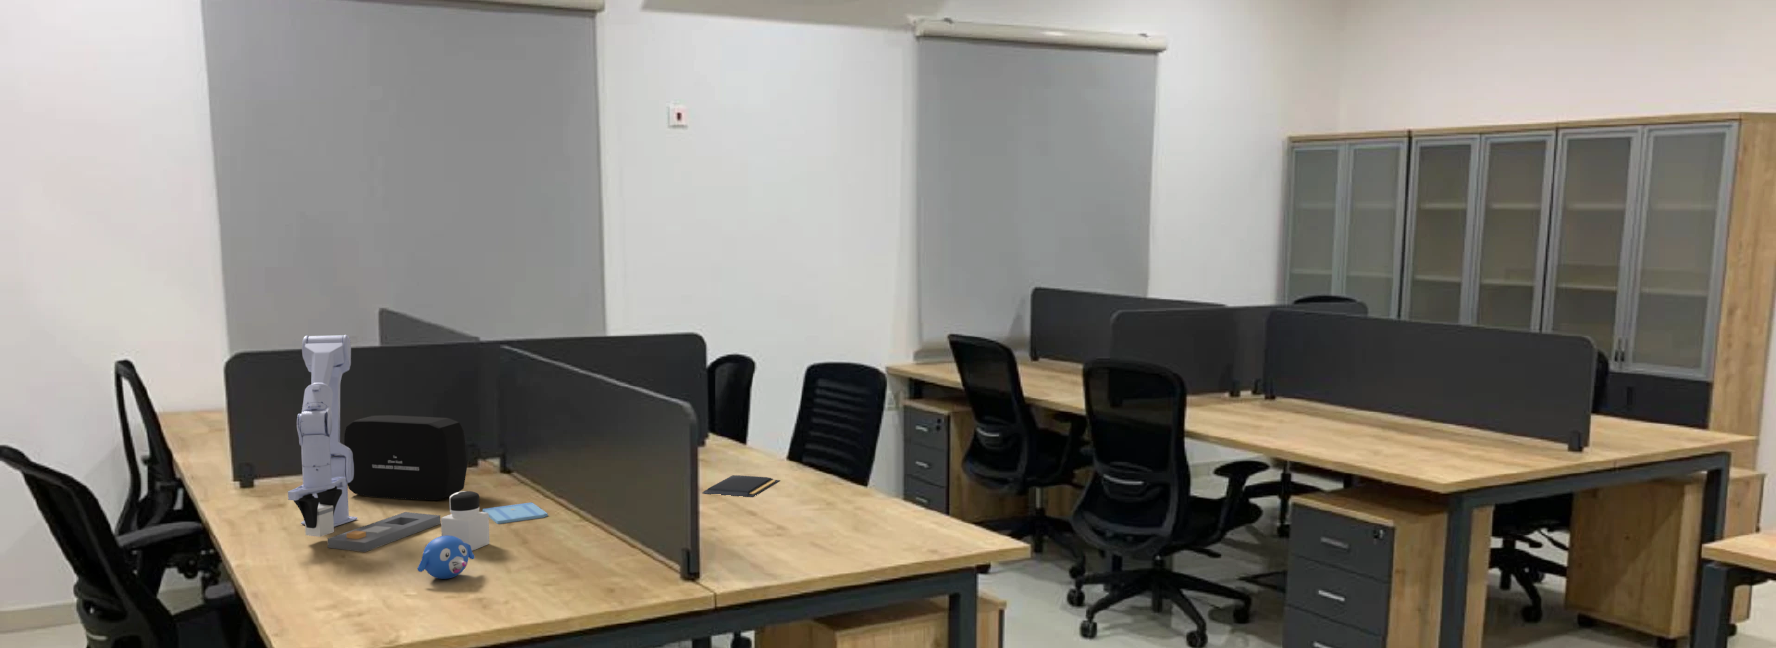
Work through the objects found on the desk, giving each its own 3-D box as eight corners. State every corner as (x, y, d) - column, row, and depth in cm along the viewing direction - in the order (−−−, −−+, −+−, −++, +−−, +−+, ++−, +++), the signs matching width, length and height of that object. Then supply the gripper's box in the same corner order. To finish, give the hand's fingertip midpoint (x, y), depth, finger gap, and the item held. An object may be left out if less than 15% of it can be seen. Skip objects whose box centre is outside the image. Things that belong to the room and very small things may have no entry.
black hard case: (344, 496, 300) (341, 419, 298) (376, 485, 311) (373, 411, 310) (448, 503, 292) (445, 424, 291) (476, 492, 304) (474, 416, 302)
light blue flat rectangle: (548, 519, 279) (548, 513, 279) (497, 526, 273) (497, 520, 273) (532, 507, 291) (531, 502, 290) (482, 513, 284) (482, 508, 284)
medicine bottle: (490, 544, 256) (488, 490, 255) (468, 553, 249) (466, 498, 248) (463, 541, 258) (461, 488, 257) (441, 549, 252) (439, 495, 251)
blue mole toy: (437, 593, 223) (436, 550, 222) (407, 580, 231) (405, 539, 230) (494, 578, 232) (493, 537, 231) (463, 566, 240) (461, 526, 239)
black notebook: (731, 472, 322) (782, 476, 317) (731, 479, 322) (782, 483, 317) (698, 488, 303) (752, 493, 298) (698, 496, 303) (752, 500, 298)
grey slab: (365, 551, 250) (364, 538, 250) (327, 547, 253) (327, 534, 253) (440, 523, 273) (440, 511, 272) (405, 520, 276) (405, 507, 276)
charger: (305, 535, 256) (303, 508, 256) (319, 530, 260) (318, 504, 259) (320, 536, 255) (318, 510, 254) (334, 532, 259) (333, 505, 258)
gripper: (305, 472, 248) (308, 535, 249) (355, 459, 261) (358, 518, 263) (279, 470, 250) (282, 532, 251) (330, 456, 264) (333, 515, 265)
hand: (319, 525), depth 257 cm, fingers closed on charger, 4 cm apart
